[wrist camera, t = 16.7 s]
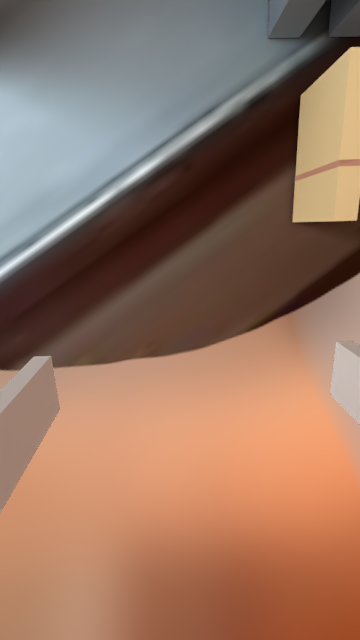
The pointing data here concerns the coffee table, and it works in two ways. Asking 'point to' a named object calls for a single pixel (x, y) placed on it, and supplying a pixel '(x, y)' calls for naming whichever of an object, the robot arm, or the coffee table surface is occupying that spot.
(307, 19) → the dispenser
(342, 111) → the taped cardboard box
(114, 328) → the coffee table surface
